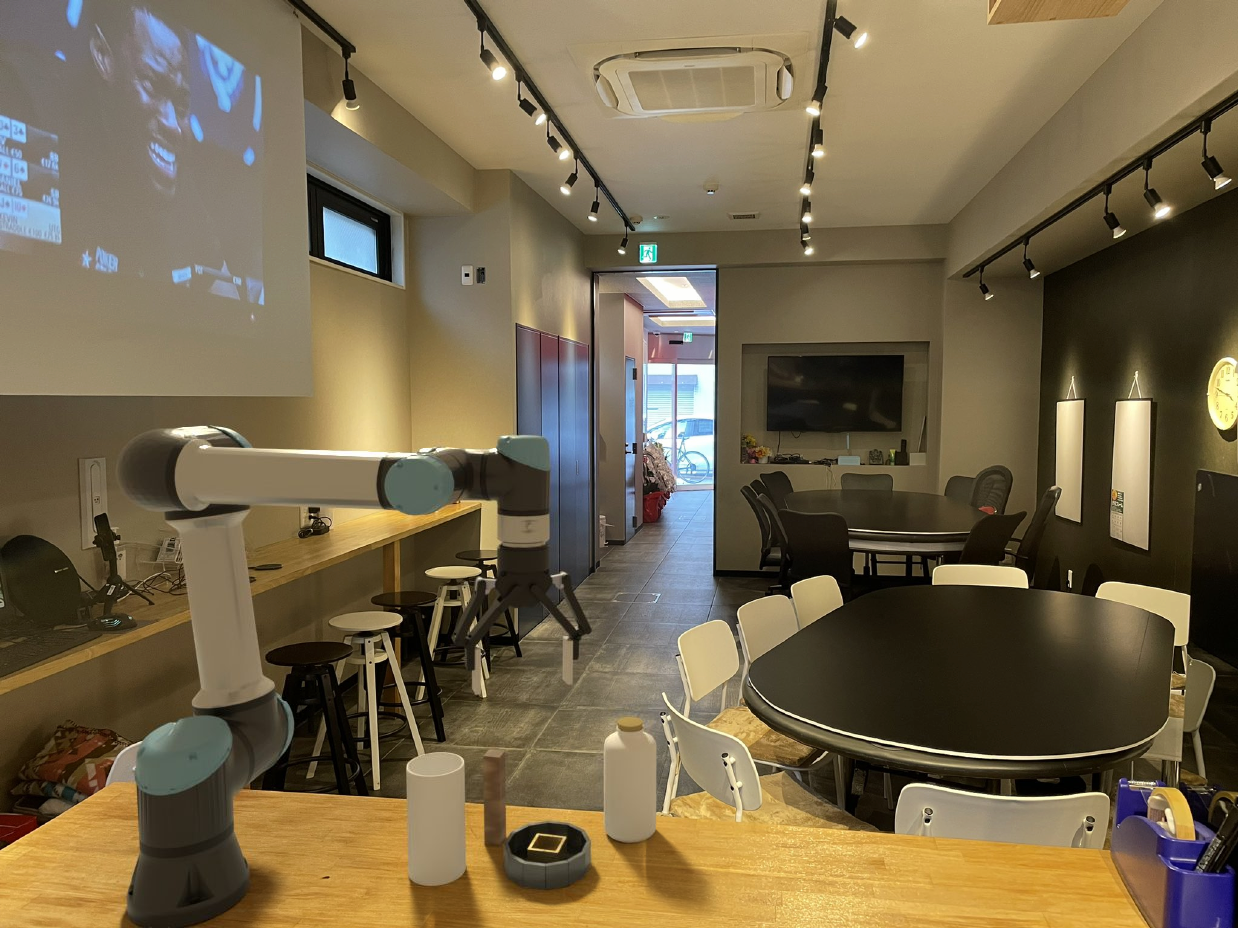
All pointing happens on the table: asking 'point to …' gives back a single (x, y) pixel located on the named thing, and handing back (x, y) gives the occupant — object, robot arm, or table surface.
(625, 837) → the potion bottle
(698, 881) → the table surface
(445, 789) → the cup
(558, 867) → the bowl
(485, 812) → the square wooden stick
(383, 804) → the table surface
